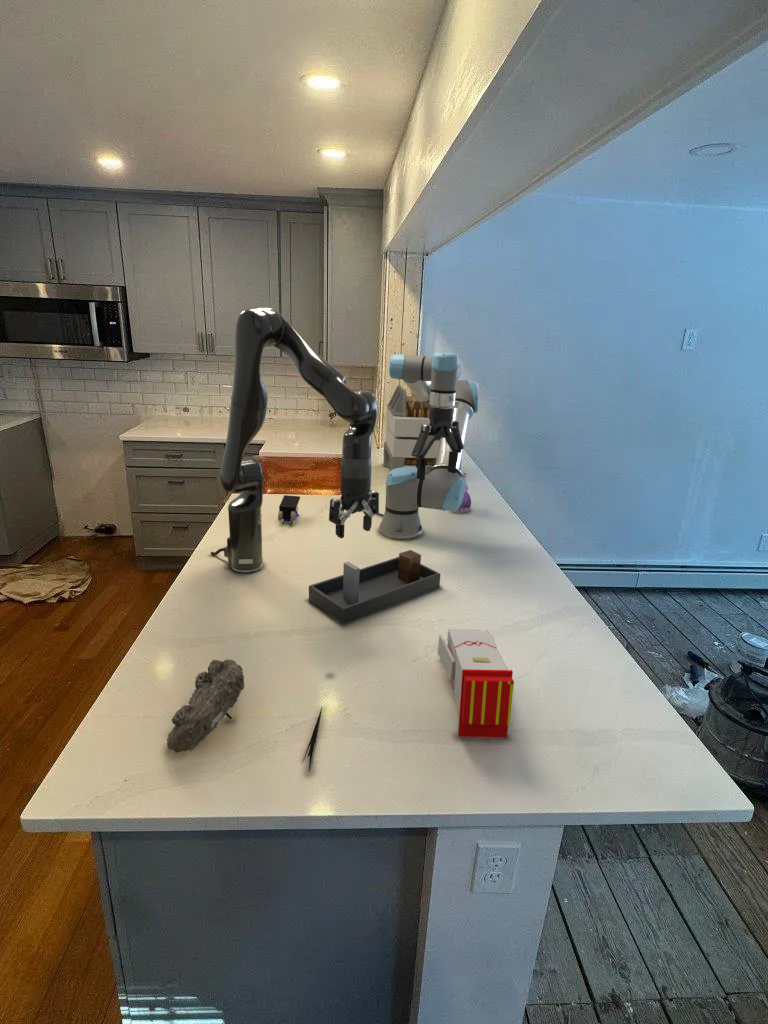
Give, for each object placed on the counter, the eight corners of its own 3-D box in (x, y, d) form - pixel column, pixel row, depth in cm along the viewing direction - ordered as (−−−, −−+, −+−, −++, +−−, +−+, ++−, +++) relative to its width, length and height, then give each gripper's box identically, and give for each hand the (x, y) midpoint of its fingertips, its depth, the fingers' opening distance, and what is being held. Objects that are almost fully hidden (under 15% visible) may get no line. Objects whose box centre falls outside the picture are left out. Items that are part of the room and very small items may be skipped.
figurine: (457, 515, 220) (461, 478, 215) (443, 507, 229) (446, 471, 224) (477, 512, 224) (481, 475, 219) (462, 504, 233) (466, 469, 228)
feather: (331, 679, 122) (336, 673, 122) (307, 777, 96) (313, 769, 95) (324, 675, 122) (329, 669, 121) (298, 772, 95) (304, 764, 95)
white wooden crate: (382, 463, 289) (386, 382, 275) (445, 464, 293) (451, 384, 279) (390, 482, 257) (394, 392, 243) (460, 483, 261) (468, 394, 247)
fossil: (192, 660, 117) (244, 628, 112) (224, 691, 120) (276, 661, 115) (142, 746, 98) (202, 712, 93) (182, 779, 101) (242, 748, 96)
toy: (488, 613, 130) (523, 677, 101) (484, 667, 133) (517, 744, 104) (435, 612, 130) (455, 676, 101) (432, 666, 133) (451, 743, 103)
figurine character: (296, 530, 202) (301, 512, 215) (295, 511, 198) (300, 494, 212) (277, 530, 201) (283, 511, 215) (276, 511, 198) (282, 493, 211)
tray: (308, 599, 152) (308, 562, 149) (402, 567, 174) (405, 534, 170) (343, 624, 141) (344, 585, 138) (439, 587, 163) (442, 552, 159)
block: (408, 584, 162) (409, 558, 159) (397, 578, 165) (399, 553, 162) (419, 580, 165) (421, 554, 162) (408, 574, 168) (410, 549, 165)
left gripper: (342, 481, 133) (340, 545, 139) (387, 472, 142) (384, 532, 147) (323, 473, 138) (322, 535, 144) (368, 465, 147) (366, 523, 153)
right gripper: (420, 412, 157) (415, 485, 165) (479, 405, 173) (472, 472, 180) (402, 407, 163) (398, 478, 170) (460, 401, 178) (454, 467, 186)
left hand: (353, 533), depth 146 cm, fingers open, 8 cm apart
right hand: (436, 475), depth 175 cm, fingers open, 13 cm apart
